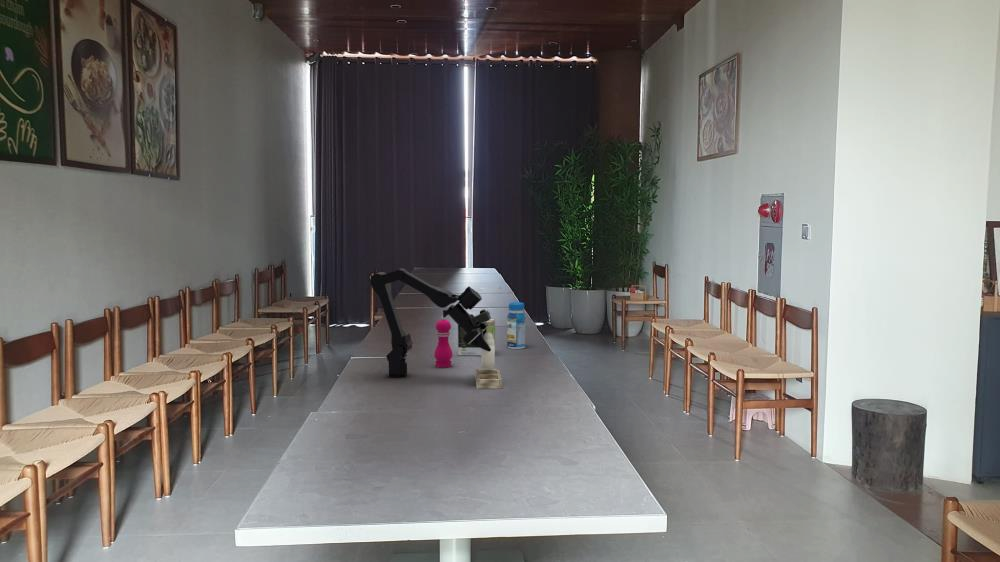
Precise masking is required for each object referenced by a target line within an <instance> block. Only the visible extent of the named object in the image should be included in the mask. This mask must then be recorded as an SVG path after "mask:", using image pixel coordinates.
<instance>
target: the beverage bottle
mask: <svg viewBox="0 0 1000 562" xmlns="http://www.w3.org/2000/svg"><path fill="white" fill-rule="evenodd" d="M508 310H509V312H508V314H507V317H506V320H507V322H506V332H507V333H506V347H507V348H508V349H511V350H512V349H513V350H520V349H521V350H522V349H525V348H526V325H527V323H526V321H525V320H526V315H525V313H524V312H523V311H524V310H525V303H524V302H519V301H518V302H517V301H516V302H514V301H513V302H509V303H508Z"/></svg>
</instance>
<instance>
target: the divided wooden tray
mask: <svg viewBox="0 0 1000 562" xmlns="http://www.w3.org/2000/svg"><path fill="white" fill-rule="evenodd" d="M474 377H475V378H474V379H475V385H476V389H477V390H480V389H482V390H483V389H484V390H485V389H490V390H491V389H503V385H504V384H503V378H502V376H501V371H500V369H499V368H497V369H495V368H494V369H493V368H482V369H479V368H478V369H475V375H474Z"/></svg>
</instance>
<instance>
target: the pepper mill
mask: <svg viewBox="0 0 1000 562" xmlns="http://www.w3.org/2000/svg"><path fill="white" fill-rule="evenodd" d="M446 317H447V316H446ZM446 317H445V318H443V315H442V316H441V317H440V320H438V321H436V324H435V329H436V330H437V333H436V336H437V338H438V339H437V340H438V341H437V345H436V347H435V350H434V355H433V357H434V359H436V360H435V367H437V368H448V367H449V368H450V367H451V366H452V360H451V359H452V358H453V351H452V348H451V346H450V342H449V337H450V335H451V334H450V333H451V332H450V330H451V328H452V325H451V322H450V321H449V320H447V319H446Z"/></svg>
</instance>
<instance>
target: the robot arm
mask: <svg viewBox="0 0 1000 562" xmlns="http://www.w3.org/2000/svg"><path fill="white" fill-rule="evenodd" d="M397 281H400V282H402V283H403V284H406V285H407V286H409V287H410V288H413V289H415V290H416V291H418V292H419V293H422V294H423V295H425V297H428V299H429V300H430V301H431V302H432V303H433V304H434V305H436V306H437V307H438V308H441V309H443V310H442V312H443V313H442V316H443V318H445V317H448V316H449V317H450V319H452V321H453V322H454V323H456V325H457V327H456V328H457V329H458V328H461V329H462V330H463V331H464V332H465V333H466V334H465V336H464V337H463V341H464V343H465V344H466V345H467V344H468V343H469V342H470V341H471V340H472V342H471V343H470V344H472V345H474V346H477V347H479V348H482V349H484V350H486V351H488V352H490V351H491V348H490V347H489V345H488V344H487V342H486V341H485V340H484V337H483V336H484V334H485V333H486V332H487V329H488V328H486V327H487V326H488V324H487V323H486V321H488V320H490V319H492V317H491V313H490V312H489V310H485V308H483V309H481V310H480V311H479V314H477V315H474V314H471V313H469V312H468V311H467V310H473V308H475V306H477V305H478V304H479V303H480V302H481V301H482V299H483V298H482V295H481V294H480V293H479V292H478V291H476V290H475V289H473V288H472V287H471V286H467V287H466V288H465V290H464V291H463V292H462V293H461V294H454V293H452V292H451V291H450V290H447V289H445V288H442V287H439V286H438V287H437V286H434V285H432V284H430V283H428V282H427V281H425V280H424V279H422V278H420V277H418V276H416V275H415V274H413V273H411V272H409V271H408V270H407V269H405V268H399V269H396V270H394V271H391V272H390V271H389V272H387V273H386V272H383V271H381V272H378V273H374V274H372V275H371V277H370V279H369V285H370V286H371V287H370V288H372V290H373V292H374V294H376V296H377V297H378V299H379V301H380V304H381V307H382V311H383V313H384V316H385V319H386V323H387V326H388V328H389V330H390V334H391V337H390V338H391V340H390V345H391V351H389V353H387V355H386V359H387V362H388V375H387V377H388V378H405V377H406V376H407V375H408V372H409V371H408V370H409V369H408V365H409V363H408V362H407V356H408V354H409V353H411V352H412V349H413V344H414V342H413V340H412V338H411V333H409V332H408V333H406V332H405V331H404V330H403V327H402V323H401V320H400V318H399V317H400V316H399V315H398V311H397V308H396V305H395V302H394V299H393V295H392V283H394V282H397ZM455 303H456V304H455ZM454 304H455V305H454ZM448 306H449V307H448ZM446 307H448V308H447V309H444V308H446ZM485 328H486V329H485ZM484 329H485V330H484Z"/></svg>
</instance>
